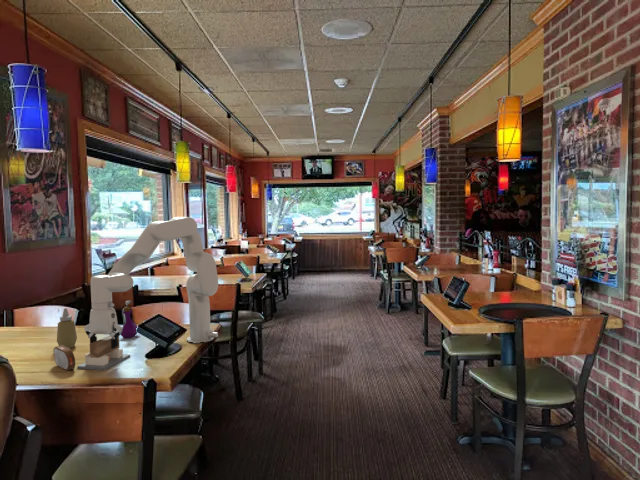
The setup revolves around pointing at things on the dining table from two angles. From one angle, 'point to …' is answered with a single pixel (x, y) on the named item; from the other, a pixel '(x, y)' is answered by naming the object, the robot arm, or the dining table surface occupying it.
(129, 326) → the perfume bottle
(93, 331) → the robot arm
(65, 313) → the squeeze bottle
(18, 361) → the dining table surface
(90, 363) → the stand
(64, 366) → the tin
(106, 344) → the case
